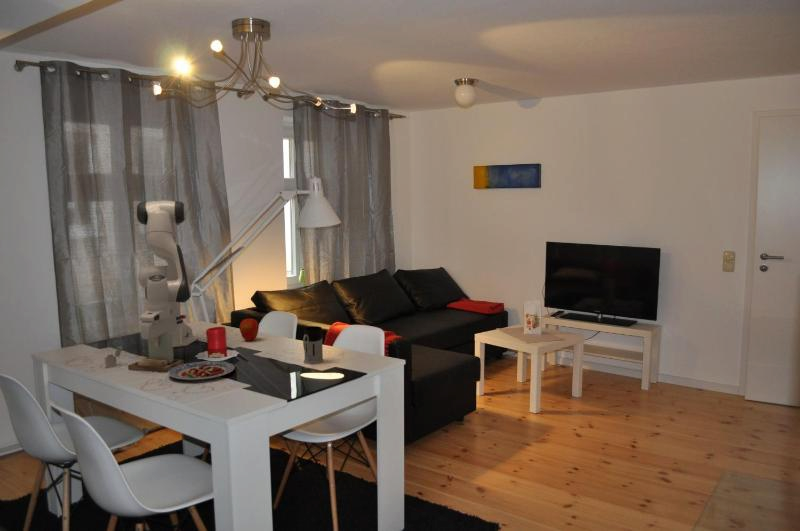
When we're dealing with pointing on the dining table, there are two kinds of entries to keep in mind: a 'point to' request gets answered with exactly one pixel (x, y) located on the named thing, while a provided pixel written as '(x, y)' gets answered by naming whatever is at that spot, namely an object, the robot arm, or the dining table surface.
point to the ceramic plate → (201, 370)
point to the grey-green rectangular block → (162, 348)
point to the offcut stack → (153, 362)
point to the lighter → (112, 358)
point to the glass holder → (313, 345)
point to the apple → (249, 329)
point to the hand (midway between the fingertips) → (160, 345)
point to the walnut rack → (154, 368)
